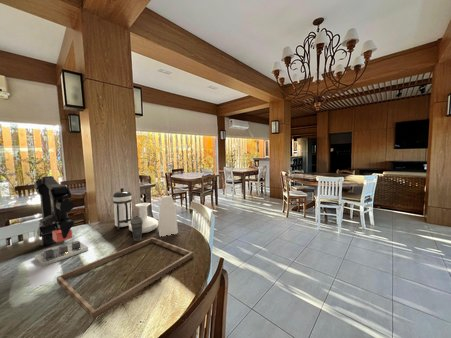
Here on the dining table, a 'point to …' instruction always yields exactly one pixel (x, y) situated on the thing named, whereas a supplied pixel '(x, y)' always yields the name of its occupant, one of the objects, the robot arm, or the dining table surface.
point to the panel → (60, 255)
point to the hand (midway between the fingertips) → (62, 236)
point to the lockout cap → (60, 235)
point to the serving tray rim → (128, 293)
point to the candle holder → (145, 218)
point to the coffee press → (122, 208)
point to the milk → (167, 217)
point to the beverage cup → (136, 227)
